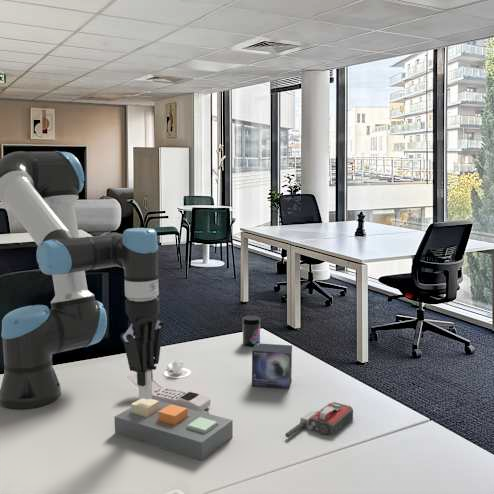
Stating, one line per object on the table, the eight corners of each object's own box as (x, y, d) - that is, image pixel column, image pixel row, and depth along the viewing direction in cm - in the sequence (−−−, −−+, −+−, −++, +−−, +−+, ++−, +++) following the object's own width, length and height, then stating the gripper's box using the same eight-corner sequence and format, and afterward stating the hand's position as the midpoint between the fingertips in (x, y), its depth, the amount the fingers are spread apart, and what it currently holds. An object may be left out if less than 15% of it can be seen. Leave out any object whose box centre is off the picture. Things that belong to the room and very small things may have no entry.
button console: (115, 433, 135) (114, 416, 134) (149, 413, 145) (148, 397, 144) (202, 460, 123) (201, 442, 122) (232, 436, 133) (232, 420, 132)
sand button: (131, 422, 137) (130, 403, 136) (144, 414, 141) (143, 396, 140) (147, 427, 134) (146, 408, 134) (159, 419, 138) (159, 401, 138)
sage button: (187, 444, 129) (187, 425, 128) (200, 435, 133) (199, 417, 132) (205, 449, 127) (205, 430, 126) (217, 440, 131) (217, 421, 130)
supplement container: (246, 347, 194) (246, 321, 193) (240, 342, 199) (240, 316, 198) (262, 345, 196) (262, 319, 195) (256, 340, 201) (256, 314, 200)
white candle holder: (166, 368, 177) (166, 355, 176) (193, 368, 176) (193, 355, 176) (161, 379, 168) (160, 365, 167) (189, 379, 168) (188, 366, 167)
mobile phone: (140, 368, 159) (218, 386, 147) (141, 389, 160) (219, 409, 148) (125, 376, 154) (205, 395, 142) (126, 397, 155) (205, 418, 143)
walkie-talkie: (324, 409, 148) (282, 440, 132) (324, 392, 148) (282, 421, 132) (356, 417, 143) (317, 451, 127) (357, 400, 143) (317, 432, 127)
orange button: (158, 430, 133) (158, 411, 132) (171, 422, 137) (171, 404, 136) (175, 435, 130) (174, 416, 130) (187, 427, 134) (187, 408, 134)
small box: (250, 387, 161) (250, 350, 160) (254, 378, 168) (254, 342, 166) (289, 389, 160) (290, 352, 158) (292, 380, 166) (292, 344, 164)
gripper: (135, 305, 125) (139, 411, 129) (173, 293, 137) (175, 390, 140) (109, 301, 129) (113, 404, 133) (148, 289, 140) (150, 384, 144)
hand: (145, 397), depth 136 cm, fingers closed
